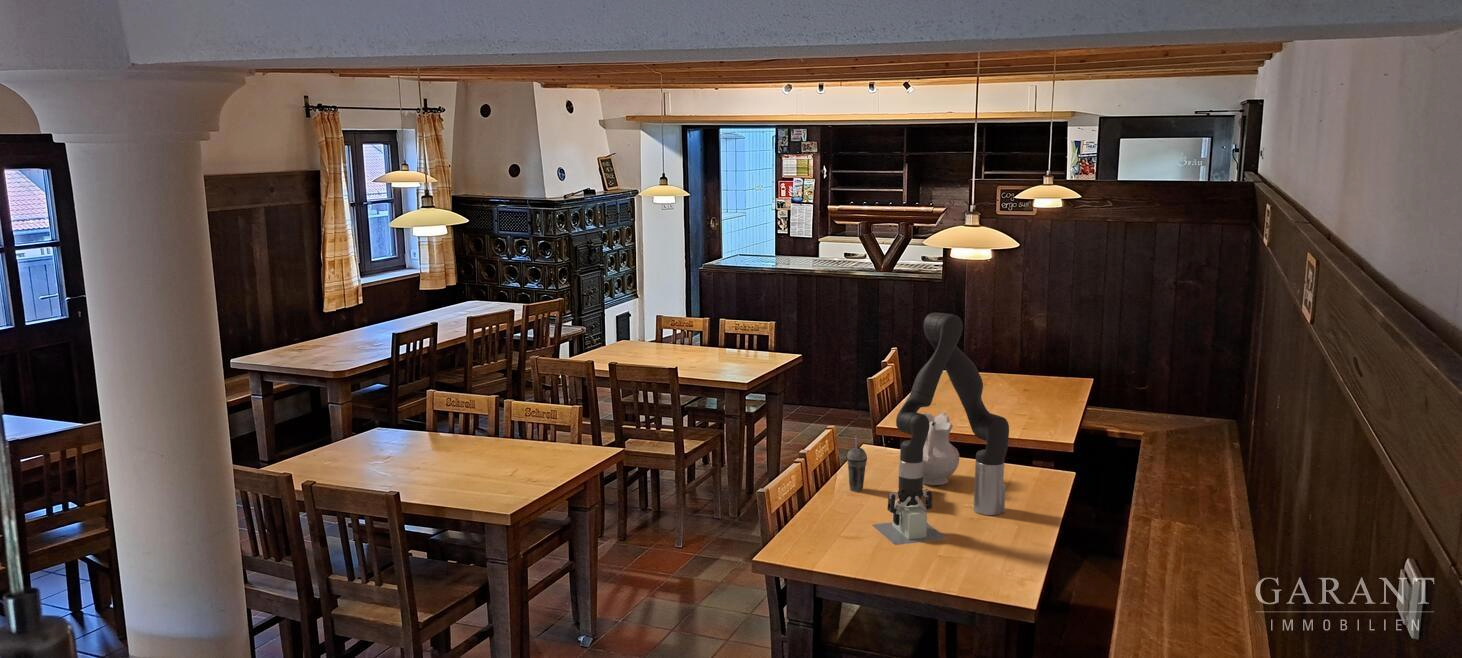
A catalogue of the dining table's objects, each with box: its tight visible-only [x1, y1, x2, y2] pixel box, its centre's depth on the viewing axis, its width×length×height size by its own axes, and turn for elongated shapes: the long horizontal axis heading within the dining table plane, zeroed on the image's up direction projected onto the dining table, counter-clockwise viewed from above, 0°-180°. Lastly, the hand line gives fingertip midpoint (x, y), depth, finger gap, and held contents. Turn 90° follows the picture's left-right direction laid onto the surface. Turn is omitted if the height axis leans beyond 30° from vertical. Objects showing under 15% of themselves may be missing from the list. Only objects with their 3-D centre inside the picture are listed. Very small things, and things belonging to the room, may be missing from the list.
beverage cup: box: [846, 435, 868, 493], centre depth 370 cm, size 7×7×20 cm
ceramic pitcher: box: [922, 411, 960, 486], centre depth 379 cm, size 22×20×25 cm
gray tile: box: [871, 522, 948, 546], centre depth 331 cm, size 18×18×1 cm
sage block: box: [892, 501, 928, 539], centre depth 330 cm, size 6×12×8 cm, turn 16°
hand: (909, 523), depth 331 cm, fingers open, 8 cm apart
